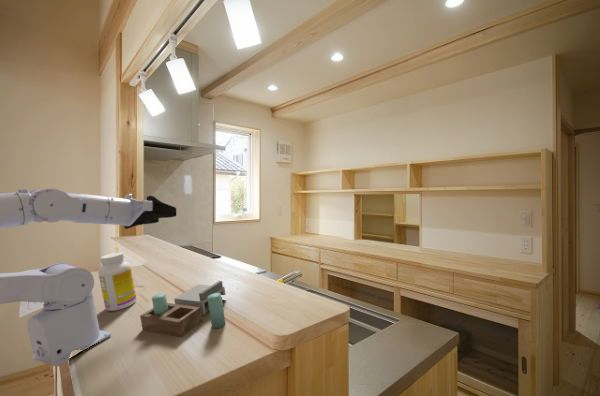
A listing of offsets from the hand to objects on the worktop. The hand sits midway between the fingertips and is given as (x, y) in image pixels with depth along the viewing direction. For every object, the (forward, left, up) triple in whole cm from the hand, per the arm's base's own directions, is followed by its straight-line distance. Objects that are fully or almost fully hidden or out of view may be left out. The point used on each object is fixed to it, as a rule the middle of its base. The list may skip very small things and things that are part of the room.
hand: (166, 215), depth 70 cm
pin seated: (-11, -7, -21) cm, 25 cm away
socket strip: (-11, -10, -21) cm, 25 cm away
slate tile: (-3, -10, -21) cm, 23 cm away
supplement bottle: (-7, +12, -21) cm, 25 cm away
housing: (-3, -10, -21) cm, 23 cm away
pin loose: (-9, -19, -21) cm, 30 cm away
